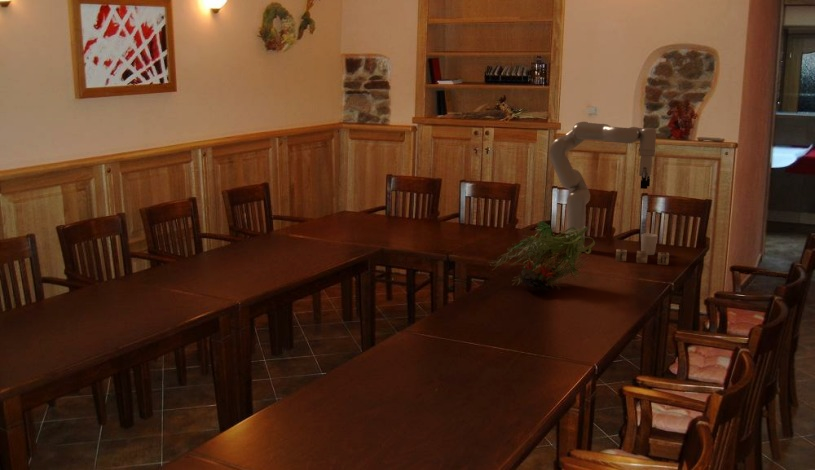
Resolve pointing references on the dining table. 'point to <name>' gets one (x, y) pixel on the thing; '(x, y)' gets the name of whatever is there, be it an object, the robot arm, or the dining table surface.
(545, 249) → the plant
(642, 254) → the plain maple block
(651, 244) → the white cup
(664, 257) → the marked block right
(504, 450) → the dining table surface
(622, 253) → the marked block left
